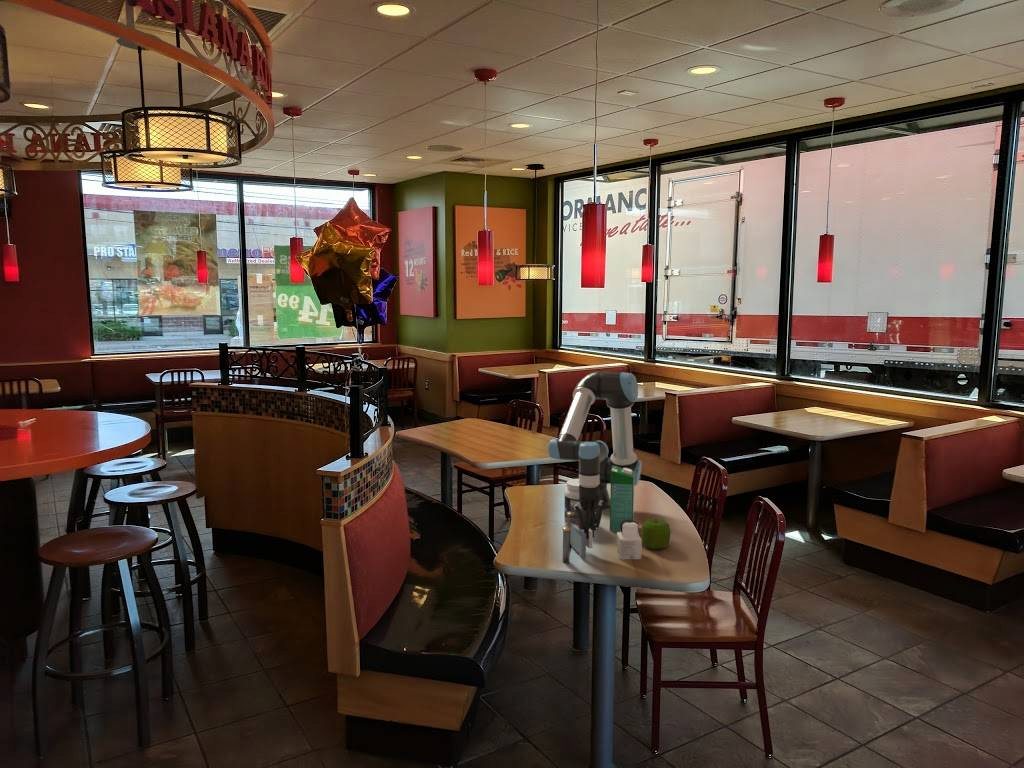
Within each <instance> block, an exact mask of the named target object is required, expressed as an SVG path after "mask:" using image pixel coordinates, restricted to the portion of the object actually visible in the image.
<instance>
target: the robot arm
mask: <svg viewBox="0 0 1024 768" xmlns="http://www.w3.org/2000/svg"><path fill="white" fill-rule="evenodd" d="M638 396H639V386H638V381H637V377H636V376H635V375H634V374H633V373H631V372H624V371H622V372H617V371H603V370H601V371H600V370H598V371H593V372H591V373H588V374H587V375H585V376H584V377H582V379H581V380H579V381H578V383H577V384H576V386H574V390H573V392H572V402H571V404H570V406H569V409H568V412H567V414H566V417H565V419H564V422H563V424H562V428H561V429H560V432H559V435H558V437H557V438H553V439H550V441H549V442H548V446H547V449H548V450H547V451H548V452H547V453H548V456H549V457H550V458H551V459H555V460H559V461H560V460H565V461H574V462H576V461H577V462H578V479H579V484H580V485H579V500H578V503H577V504H576V505H573V508H574V510H575V512H576V517H577V521H578V525H579V528H580V529H582V531H583V532H584V533H585V534H586V548H588V549H592V548H593V540H594V538H595V532H596V530H597V529H598V528H599V527H600V526H601V525H600V524H601V520H602V516H603V511H604V510H605V509H607V508H610V493H609V490H608V485H611V469H612V465H614V466H617V467H620V468H628V469H631V470H632V471H634V472H635V476H634V487H636V486H637V485H638V483H639V481H640V477H641V473H642V465H643V462H642V460H640V459H638V455H637V454H636V453H635V452H634V440H633V439H634V437H633V422H632V406H634V404H635V402H637V400H638V398H639V397H638ZM596 400H605V402H606V406H607V407H608V408H609V409H610V423H611V424H610V425H611V436H612V449H613V450H612V451H613V453H612V454H611V455H610V457H609V456H608V455H609V452H610V451H609V447H608V445H607V443H606V442H604V441H602V440H594V441H583V440H582V441H581V440H579V438H580V436H581V433H582V430H583V427H584V424H585V422H586V419H587V417H588V414H589V411H590V408H591V405H593V404H595V401H596ZM580 505H581V507H582V510H583V517H582V513H581V510H580V509H581V507H580ZM595 512H596V514H595Z"/></svg>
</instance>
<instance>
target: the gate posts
mask: <svg viewBox="0 0 1024 768" xmlns="http://www.w3.org/2000/svg"><path fill="white" fill-rule="evenodd" d="M571 522H574V512H567V526H566V525H565V526H562V527H561V528H562V563H563V564H570V552H571V548H572V547H573V546H572V545H571V544H570V523H571Z"/></svg>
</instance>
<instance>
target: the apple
mask: <svg viewBox="0 0 1024 768" xmlns="http://www.w3.org/2000/svg"><path fill="white" fill-rule="evenodd" d="M640 532H641V533H640V535H641V536H640V537H641V539H642V545H643V546H645V547H646V548H647V549H650V550H661V549H663V548H666V547H668V546H669V545H670V543H671V542H670V541H671V533H672V531H671V526H670V523H668V522H667V521H666V520H664V519H659V518H651V519H646V520H644V521H643V523H641V531H640Z"/></svg>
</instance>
